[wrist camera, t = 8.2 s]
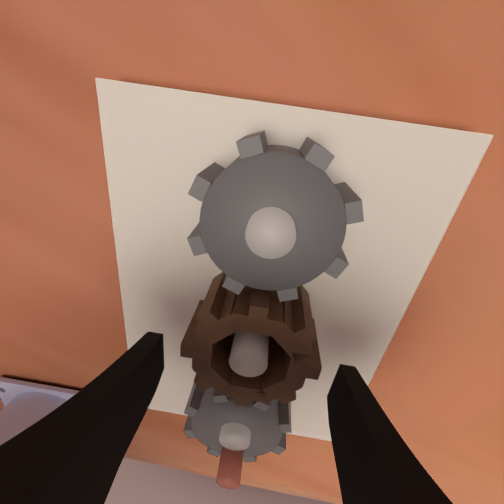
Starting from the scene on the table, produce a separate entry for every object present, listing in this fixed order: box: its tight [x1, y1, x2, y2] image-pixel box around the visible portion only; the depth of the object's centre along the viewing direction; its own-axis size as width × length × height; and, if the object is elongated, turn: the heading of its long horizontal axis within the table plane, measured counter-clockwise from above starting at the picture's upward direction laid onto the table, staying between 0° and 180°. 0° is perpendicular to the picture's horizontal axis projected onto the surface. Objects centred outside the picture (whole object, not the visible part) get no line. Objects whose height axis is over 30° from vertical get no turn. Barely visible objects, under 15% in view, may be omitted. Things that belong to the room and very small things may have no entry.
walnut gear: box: [180, 272, 322, 407], centre depth 12 cm, size 6×6×3 cm
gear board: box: [95, 78, 494, 489], centre depth 13 cm, size 19×14×6 cm
